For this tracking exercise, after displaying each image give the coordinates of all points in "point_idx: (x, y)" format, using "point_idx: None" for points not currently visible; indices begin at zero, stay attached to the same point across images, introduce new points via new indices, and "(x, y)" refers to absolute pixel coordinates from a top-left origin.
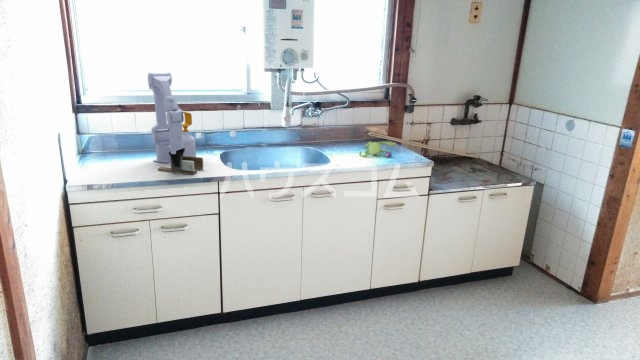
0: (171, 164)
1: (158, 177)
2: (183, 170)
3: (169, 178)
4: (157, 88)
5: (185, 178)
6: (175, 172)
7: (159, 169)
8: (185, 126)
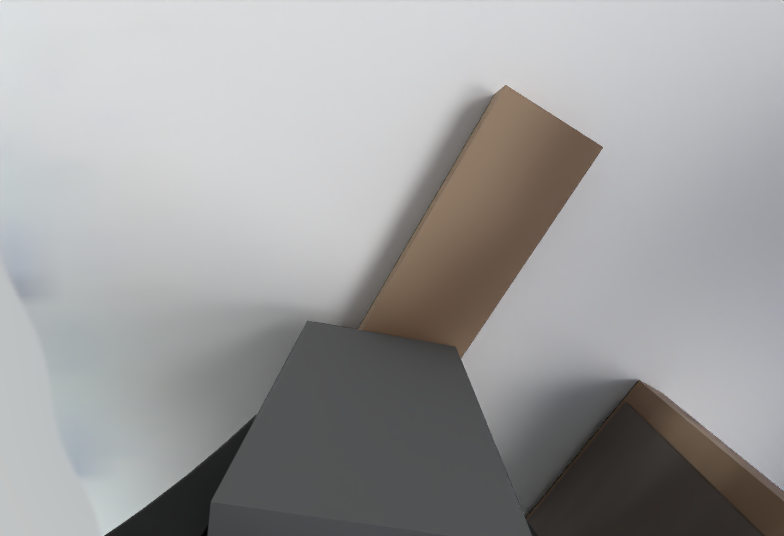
0: (274, 390)
1: (107, 129)
2: None
3: (66, 290)
4: None
5: (78, 471)
6: None
7: (482, 119)
8: None
